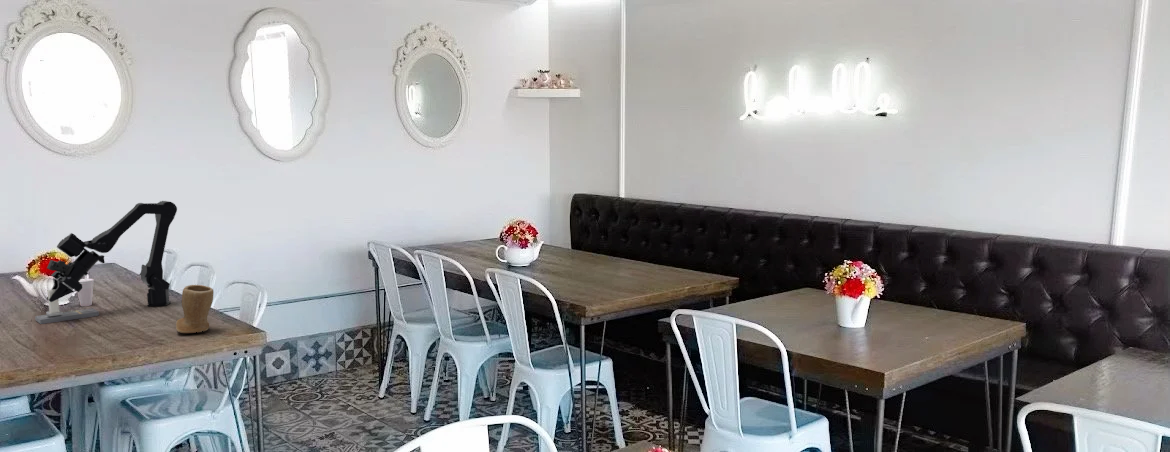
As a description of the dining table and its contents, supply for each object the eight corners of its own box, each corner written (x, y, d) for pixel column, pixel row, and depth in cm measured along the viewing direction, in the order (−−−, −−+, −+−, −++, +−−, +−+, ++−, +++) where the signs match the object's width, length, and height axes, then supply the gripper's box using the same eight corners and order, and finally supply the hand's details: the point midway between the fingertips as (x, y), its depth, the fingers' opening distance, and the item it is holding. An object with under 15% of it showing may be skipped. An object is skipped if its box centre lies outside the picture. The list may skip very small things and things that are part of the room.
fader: (59, 312, 303) (57, 288, 302) (62, 314, 299) (60, 290, 298) (46, 314, 300) (44, 290, 299) (49, 316, 297) (47, 292, 296)
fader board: (93, 312, 312) (92, 307, 312) (99, 315, 306) (98, 311, 306) (35, 320, 300) (35, 315, 299) (40, 324, 294) (40, 319, 294)
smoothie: (89, 306, 321) (86, 270, 320) (72, 307, 321) (69, 270, 320) (99, 303, 328) (96, 267, 326) (82, 303, 328) (79, 267, 326)
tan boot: (216, 333, 278) (213, 287, 276) (175, 337, 273) (172, 291, 271) (215, 323, 291) (212, 280, 289) (176, 327, 287) (173, 283, 285)
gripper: (55, 248, 307) (22, 283, 301) (68, 254, 293) (34, 290, 287) (82, 267, 313) (50, 301, 307) (96, 273, 300) (62, 309, 293)
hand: (48, 300), depth 298 cm, fingers closed on fader, 3 cm apart
